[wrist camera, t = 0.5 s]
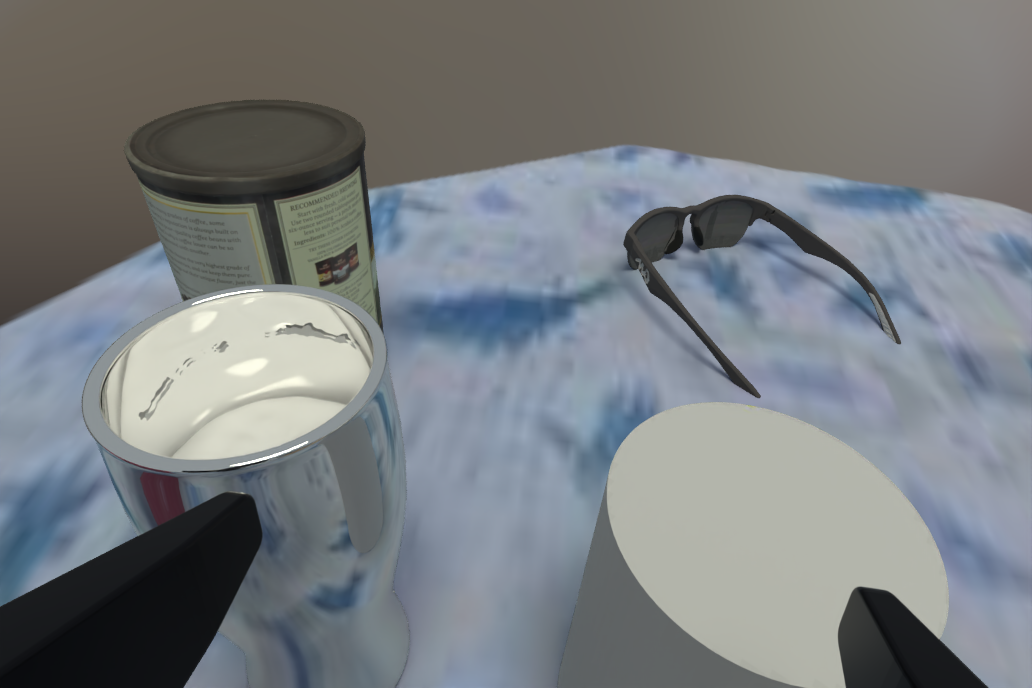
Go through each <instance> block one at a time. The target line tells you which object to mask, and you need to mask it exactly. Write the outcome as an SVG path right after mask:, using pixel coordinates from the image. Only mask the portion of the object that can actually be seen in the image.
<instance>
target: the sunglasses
mask: <svg viewBox="0 0 1032 688" xmlns="http://www.w3.org/2000/svg"><path fill="white" fill-rule="evenodd" d="M689 214H692V215H691V217H690V223H691V224H692V225H691V232H692V236H693V240H694V242H695V244H696V245H697V246H698V247H699V248H700V249H703V250H705V249H711V248H722V247H731V246H733V245H734V244H736V243H737V242H738V241H739V240H740V239H741V238H742V237H743V235H744V233H745V232H746V230H747V228H748V226H751V225H752V224H753V222H754V221H755V220H756V219H758V218H760V219H763V220H765V221H767V222H770V223H771V224H773V225H774V226H776V227H777V228H779V229H780V230H782V231H783V232H785V233H786V234H787V235H788V236H789V237H790V238H791V239H793V241H794V242H795V243H796V244H797V245H798V246H799V247H800V248H801V249H802V250H803V251H804V252H805V253H808V254H811V255H814V256H817V257H820V258H823V259H825V260H827V261H829V262H831V263H833V264H835V265H837V266H839V267H840V268H842V269H843V270H845V271H846V272H847V273H848V274H850V275H851V276H852V277H853V278H854V279H855V280H856V281H857V282H858V283H859V284H860V285H861V286H862V287H863V289H864V290H865V291H866V292H867V294H868V296H869V297H870V299H871V300H872V302H873V304H874V306H875V309H876V312H877V314H878V317H879V320H880V323H881V326H882V328H883V331H884V332H885V333H886V334H887V336H888V337H890V338H891V339H892V340H893V341H894V342H896V343H897V344H901V341H900V338H899V336H898V334H897V332H896V329H895V327H894V325H893V323H892V321H891V318H890V316H889V314H888V312H887V309H886V307H885V305H884V303H883V301H882V299H881V298H880V296H879V294H878V293H877V291H876V290H875V288H874V286H873V285H872V284H871V283H870V282H869V280H868V279H867V278H866V277H865V276H864V274H863V273H862V272H860V271H859V270H858V269H857V268H856V267H855V266H854V265H853V264H852V263H851V262H850V261H849V260H848V259H847V258H845V257H844V256H843V255H841V254H840V253H839V252H838V251H836V250H835V249H834V248H833V247H831V246H830V245H828V244H827V243H826V242H824V241H823V240H822V239H820V238H819V237H817V236H816V235H815V234H813V233H812V232H811V231H809V230H808V229H806V228H805V227H804V226H802V225H801V224H799V223H798V222H796V221H795V220H793V219H792V218H791V217H789V216H788V215H786V214H785V213H783V212H782V211H780V210H778V209H777V208H775V207H774V206H772V205H770V204H769V203H767V202H764V201H761V200H758V199H754V198H751V197H747V196H741V195H724V196H719V197H716V198H713V199H710V200H708V201H706V202H703V203H701V204H699V205H696V206H688V207H685V208H678V207H663V208H657V209H654V210H652V211H650V212H648V213H646V214H644V215H643V216H642V217H641V218H639V219H638V220H637V221H636V222H635V223H634V224H633V225H632V227H631V228H630V229H629V230H628V231H627V233H626V236H625V240H624V244H623V245H624V247H625V248H626V250H627V251H628V253H627V257H628V263H629V265H630V267H631V268H633V269H639V271H640V273H641V275H642V277H643V279H644V281H645V283H646V285H647V287H648V289H649V291H650V292H651V293H652V294H653V295H655V296H656V297H658V298H659V299H661V300H662V301H663V302H665V303H666V304H667V305H668V306H670V307H671V308H672V309H673V310H674V311H675V312H676V313H677V314H678V315H679V316H680V317H681V318H682V319H683V320H684V321H685V322H686V323H687V324H688V326H689V327H690V328H691V329H692V330H693V331H694V332H695V334H696V335H697V336H698V337H699V338H700V339H701V340H702V342H703V343H704V344H705V345H706V346H707V348H708V349H709V350H710V351H711V353H712V354H713V355H714V357H715V358H716V359H717V360H718V362H719V363H720V364H721V366H722V367H723V369H724V370H725V371H726V373H727V374H728V375H729V377H730V378H731V380H732V381H733V382H734V384H736V385H737V386H739V387H741V388H742V389H744V390H745V391H747V392H749V393H750V394H752V395H754V396H755V397H757V398H760V397H761V396H760V394H759V393H758V392H757V390H756V389H755V388H754V386H753V385H752V384H751V383H750V382H749V381H748V380H747V379H746V378H745V377H744V376H743V374H742V373H741V372H740V371H739V370H738V369H737V368H736V367H735V366H734V365H733V364H732V362H731V361H730V360H729V359H728V358H727V357H726V356H725V355H724V354H723V353H722V351H721V350H720V349H719V348H718V347H717V346H716V345H715V343H714V342H713V341H712V340H711V339H710V338H709V336H708V335H707V334H706V333H705V332H704V330H703V329H702V328H701V327H700V326H699V325H698V323H697V322H696V321H695V320H694V318H693V317H692V316H691V315H690V313H689V312H688V311H687V310H686V308H685V307H684V306H683V305H682V303H681V302H680V301H679V300H678V298H677V297H676V296H675V294H674V293H673V292H672V290H671V289H670V288H669V286H668V285H667V284H666V282H665V281H664V280H663V278H662V277H661V276H660V274H659V273H658V272H657V270H656V269H655V268H654V266H653V265H652V262H655V261H659V260H660V259H661V258H662V257H663V256H664V254H670V253H673V252H675V251H676V250H678V249H679V248H680V246H681V245H682V243H683V233H682V229H683V225H684V221H685V218H686V217H687V216H688V215H689Z"/></svg>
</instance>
